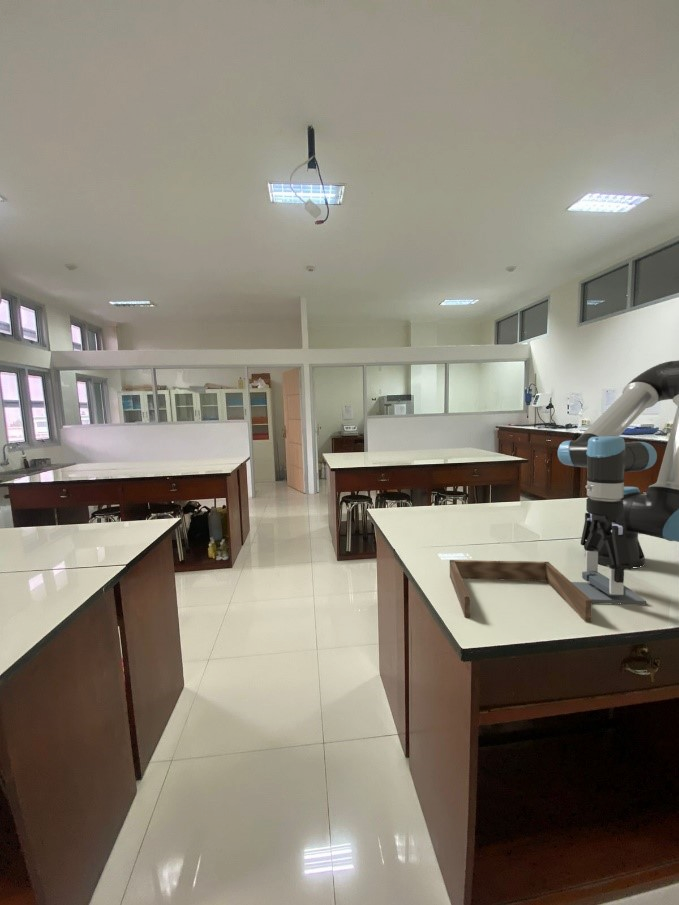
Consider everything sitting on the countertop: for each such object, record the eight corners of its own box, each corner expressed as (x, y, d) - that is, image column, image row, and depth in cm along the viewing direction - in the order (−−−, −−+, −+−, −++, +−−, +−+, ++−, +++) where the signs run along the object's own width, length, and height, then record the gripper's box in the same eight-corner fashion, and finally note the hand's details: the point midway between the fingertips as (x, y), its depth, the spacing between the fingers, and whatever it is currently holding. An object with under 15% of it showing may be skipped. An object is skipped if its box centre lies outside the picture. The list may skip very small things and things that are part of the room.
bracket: (609, 596, 89) (610, 588, 89) (581, 578, 99) (581, 571, 99) (626, 595, 89) (626, 587, 89) (596, 578, 99) (596, 570, 99)
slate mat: (620, 586, 98) (621, 583, 98) (646, 605, 88) (646, 601, 88) (564, 585, 100) (564, 581, 100) (582, 603, 90) (582, 599, 90)
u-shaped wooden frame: (548, 578, 105) (548, 561, 104) (591, 622, 82) (591, 600, 81) (449, 576, 108) (449, 560, 108) (464, 617, 86) (464, 596, 85)
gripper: (567, 490, 104) (566, 566, 106) (615, 508, 82) (613, 605, 83) (595, 489, 103) (594, 566, 105) (653, 508, 80) (650, 606, 82)
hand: (603, 583), depth 94 cm, fingers closed on bracket, 10 cm apart
